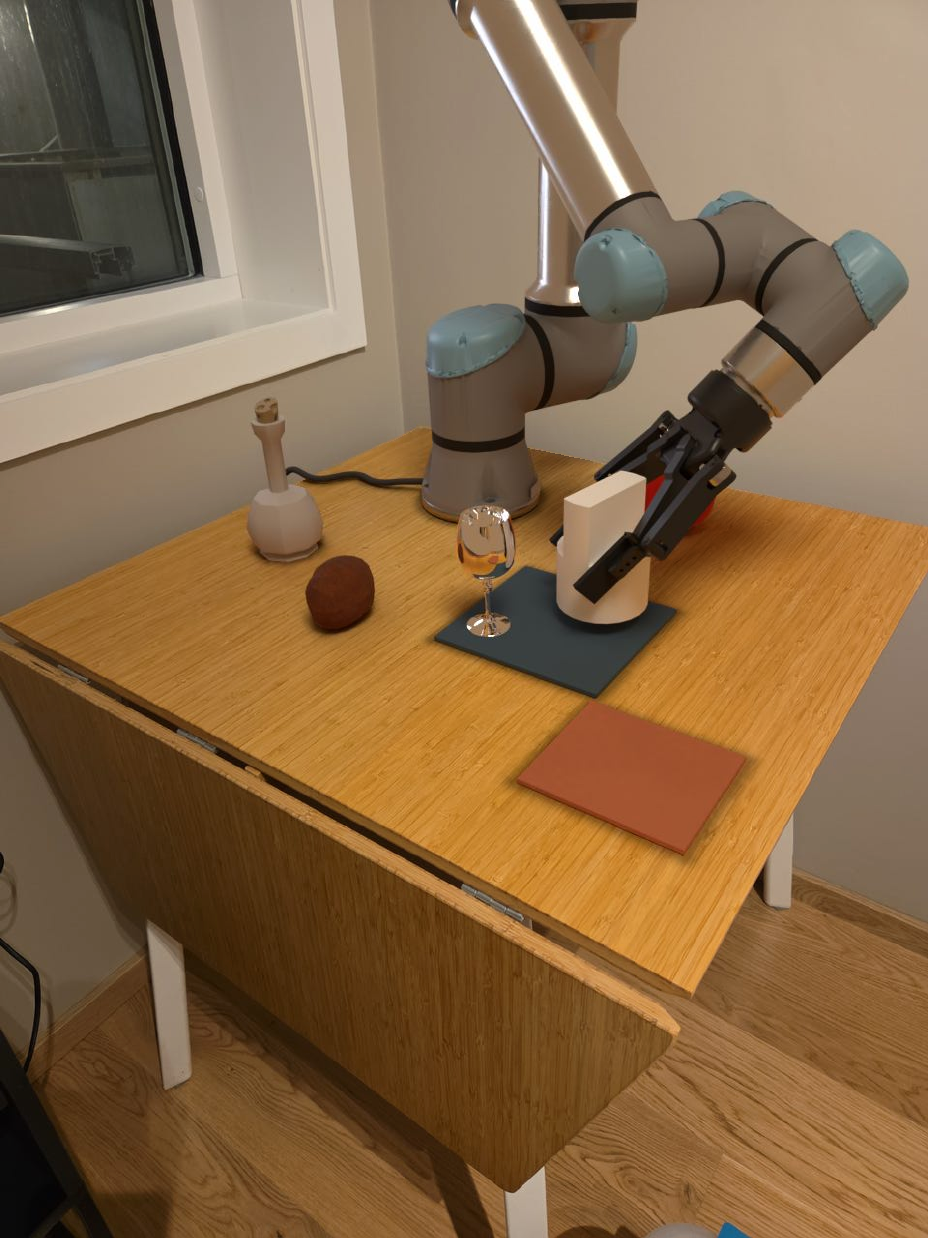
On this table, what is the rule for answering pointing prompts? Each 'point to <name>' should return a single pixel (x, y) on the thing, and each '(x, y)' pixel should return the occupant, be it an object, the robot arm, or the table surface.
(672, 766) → the mat
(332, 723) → the table surface
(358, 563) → the potato
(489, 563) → the wineglass
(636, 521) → the base with upright slab
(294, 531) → the potion bottle
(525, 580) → the mat
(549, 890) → the table surface
